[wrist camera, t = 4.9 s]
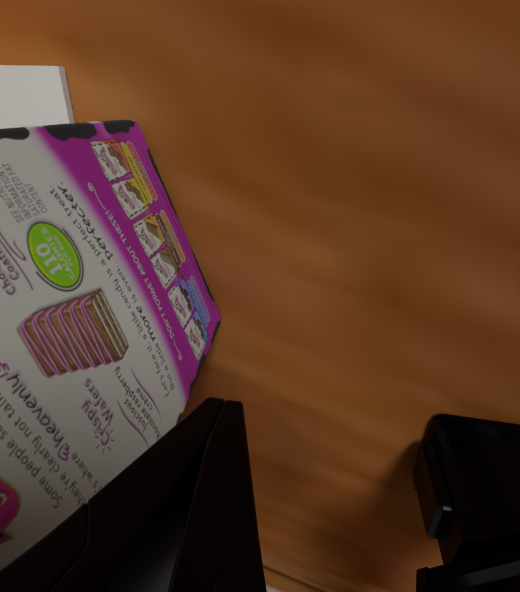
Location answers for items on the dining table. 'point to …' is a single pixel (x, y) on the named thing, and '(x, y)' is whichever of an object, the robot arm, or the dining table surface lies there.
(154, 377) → the candy bar box
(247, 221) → the dining table surface
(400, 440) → the dining table surface
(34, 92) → the mat
